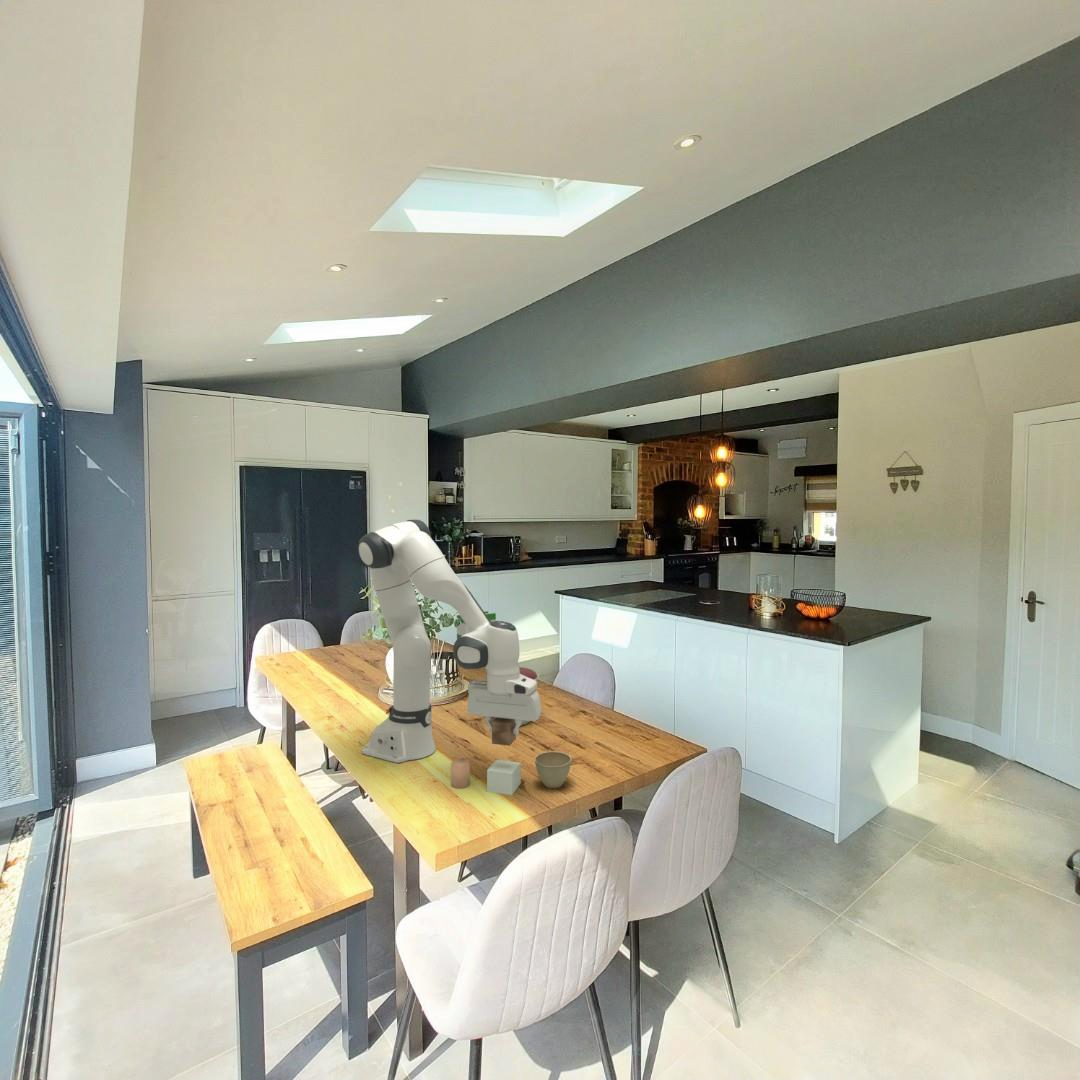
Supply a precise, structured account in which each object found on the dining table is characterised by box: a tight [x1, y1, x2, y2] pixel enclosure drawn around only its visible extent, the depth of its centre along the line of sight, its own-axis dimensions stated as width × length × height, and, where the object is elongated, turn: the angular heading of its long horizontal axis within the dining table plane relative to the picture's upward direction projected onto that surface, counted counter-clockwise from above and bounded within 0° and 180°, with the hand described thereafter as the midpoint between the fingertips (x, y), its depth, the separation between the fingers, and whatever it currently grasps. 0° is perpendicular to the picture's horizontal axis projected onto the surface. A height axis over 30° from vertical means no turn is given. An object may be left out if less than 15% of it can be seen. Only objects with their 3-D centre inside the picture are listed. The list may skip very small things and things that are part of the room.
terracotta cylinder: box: [450, 758, 471, 790], centre depth 164 cm, size 5×5×6 cm
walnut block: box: [491, 717, 517, 747], centre depth 161 cm, size 5×5×6 cm
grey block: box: [486, 759, 522, 796], centre depth 162 cm, size 7×7×6 cm
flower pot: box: [534, 750, 572, 789], centre depth 164 cm, size 10×10×7 cm
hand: (504, 733), depth 161 cm, fingers closed on walnut block, 5 cm apart
